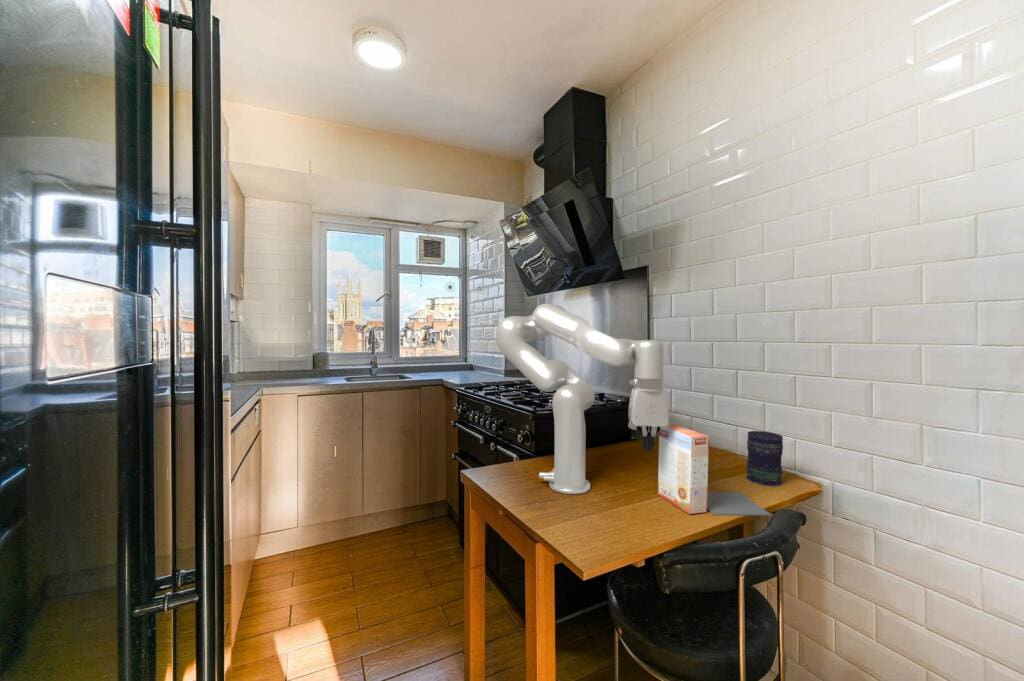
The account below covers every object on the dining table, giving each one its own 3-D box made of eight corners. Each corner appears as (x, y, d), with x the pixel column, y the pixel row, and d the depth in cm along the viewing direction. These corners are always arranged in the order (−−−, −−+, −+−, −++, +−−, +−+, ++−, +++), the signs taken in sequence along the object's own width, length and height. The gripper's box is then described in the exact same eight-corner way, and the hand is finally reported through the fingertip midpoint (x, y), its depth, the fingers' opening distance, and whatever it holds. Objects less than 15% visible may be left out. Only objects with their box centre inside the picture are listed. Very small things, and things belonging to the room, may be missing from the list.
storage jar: (743, 473, 137) (744, 429, 136) (776, 477, 134) (778, 432, 133) (749, 483, 127) (751, 437, 127) (786, 488, 124) (787, 440, 124)
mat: (713, 514, 106) (713, 513, 106) (690, 493, 120) (690, 491, 120) (770, 515, 106) (770, 514, 106) (740, 493, 120) (740, 492, 120)
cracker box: (708, 513, 107) (710, 435, 106) (689, 515, 105) (690, 436, 105) (674, 492, 120) (676, 423, 120) (657, 494, 119) (658, 424, 118)
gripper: (625, 386, 108) (624, 453, 109) (680, 386, 108) (679, 454, 109) (618, 382, 116) (617, 445, 116) (670, 382, 116) (669, 445, 116)
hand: (647, 449), depth 112 cm, fingers closed
